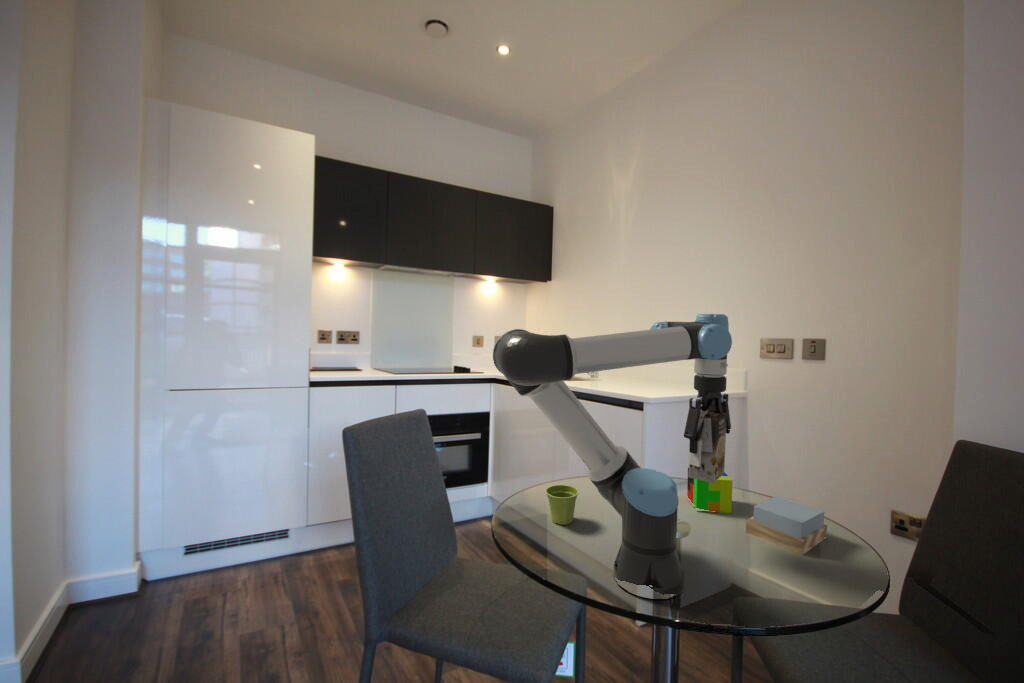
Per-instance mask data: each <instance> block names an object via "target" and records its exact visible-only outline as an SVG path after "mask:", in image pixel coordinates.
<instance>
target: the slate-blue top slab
mask: <svg viewBox="0 0 1024 683" xmlns="http://www.w3.org/2000/svg"><path fill="white" fill-rule="evenodd" d="M752 517H753V521H756V522H759V523H761V524H764V525H766V526H769V527H771V528H774V529H777V530H779V531H782V532H784V533H787V534H790V535H792V536H795V537H797V538H800V539H802V538H804V537H805V536H807V535H809V534H811V533H812V532H814V531H816V530H818V529H820V528H821V527H823V526H824V525H825V511H824V510H821V509H818V508H816V507H812V506H809V505H806V504H803V503H800V502H797V501H794V500H791V499H788V498H785V497H782V496H778V495H776V496H774V497H771V498H770V499H767V500H764V501H762V502H760V503H758V504H755V505H753V515H752Z"/></svg>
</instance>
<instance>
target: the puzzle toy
mask: <svg viewBox="0 0 1024 683" xmlns="http://www.w3.org/2000/svg"><path fill="white" fill-rule="evenodd" d="M733 481H734V480H733V479H732V478H731V477H729V475H728V474H727V473H726V472H725V471H724V474H723V475H722V476H721V477H720V478H718V479H717V480H716V481H715V482H714V483H711V482H707V481H702V480H698V479H694V478H689V467H687V491H686V494H687V495H686V497H687V496H688V498H689V499H690V500H691V502H692V503H693V504H694V505H695V507H696V508H699V509H704V510H709V511H715V512H720V514H732V513H733V512H732V509H733V507H732V506H733V504H732V503H733ZM715 512H714V513H715Z"/></svg>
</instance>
